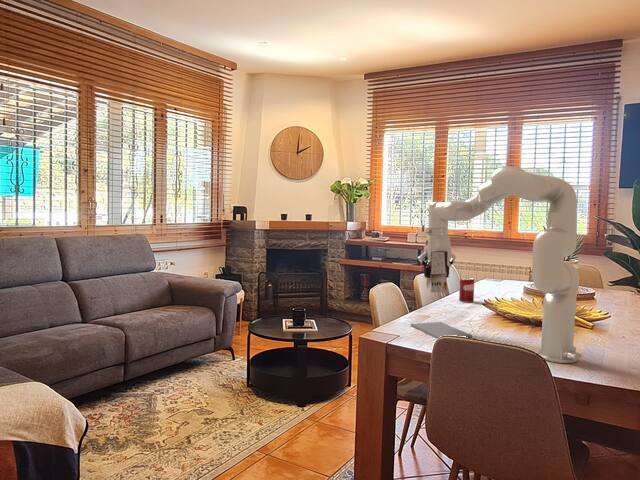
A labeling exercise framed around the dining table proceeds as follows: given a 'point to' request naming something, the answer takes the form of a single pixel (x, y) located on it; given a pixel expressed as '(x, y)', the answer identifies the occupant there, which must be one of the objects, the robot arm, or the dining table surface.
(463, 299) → the soda can
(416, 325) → the mat
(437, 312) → the dining table surface
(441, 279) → the coffee box
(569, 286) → the robot arm
